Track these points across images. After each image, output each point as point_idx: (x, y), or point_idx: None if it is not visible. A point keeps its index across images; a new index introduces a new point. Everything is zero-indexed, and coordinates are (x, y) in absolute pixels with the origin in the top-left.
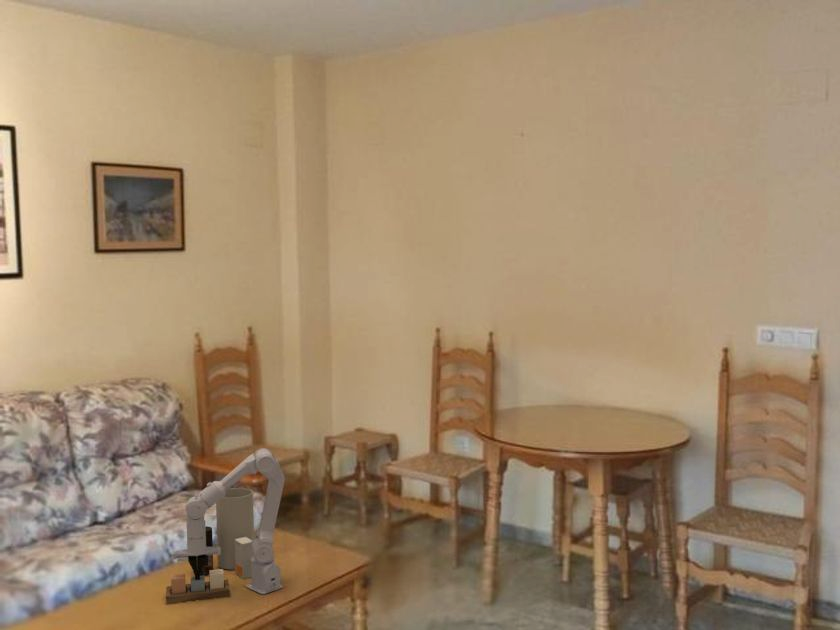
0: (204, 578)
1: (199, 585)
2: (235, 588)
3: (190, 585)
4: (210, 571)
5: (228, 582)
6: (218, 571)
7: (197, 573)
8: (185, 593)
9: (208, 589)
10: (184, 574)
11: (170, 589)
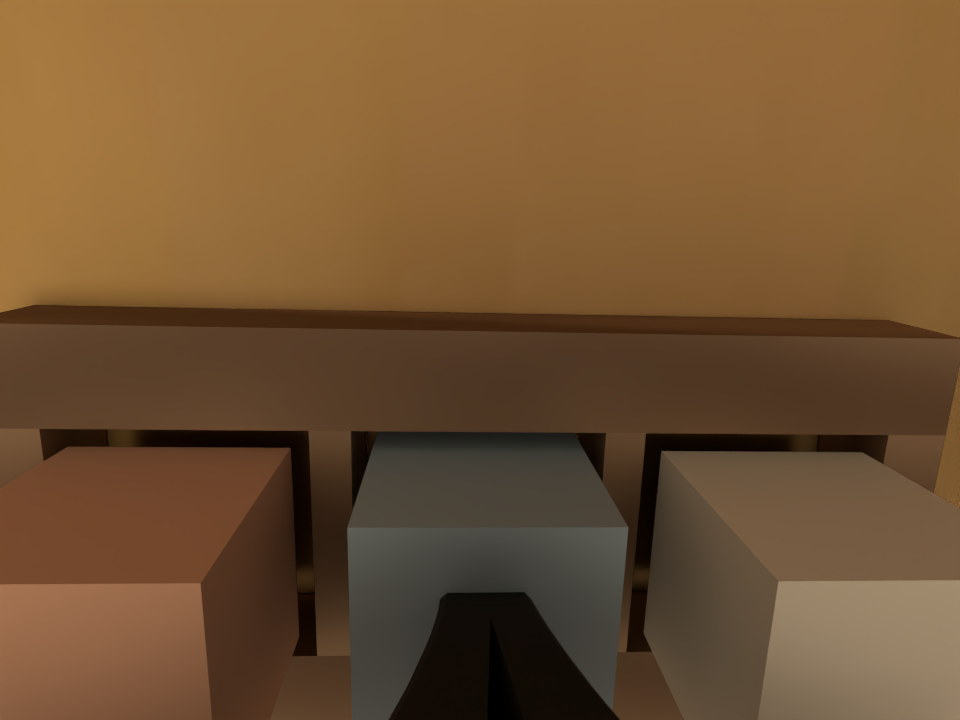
0: (612, 677)
1: None
2: (951, 430)
3: (365, 405)
4: (790, 648)
5: (937, 468)
6: (951, 697)
7: (494, 668)
8: (295, 685)
9: (620, 636)
10: (188, 661)
11: (51, 423)
